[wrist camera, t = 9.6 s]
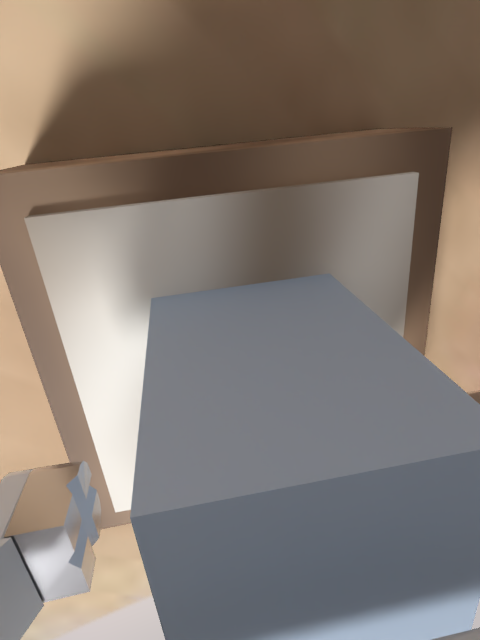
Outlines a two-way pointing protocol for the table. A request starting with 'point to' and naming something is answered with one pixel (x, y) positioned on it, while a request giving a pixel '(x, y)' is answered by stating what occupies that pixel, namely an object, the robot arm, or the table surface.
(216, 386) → the block
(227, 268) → the brown square frame
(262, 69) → the table surface
